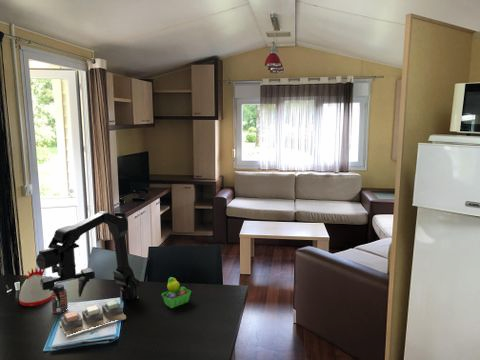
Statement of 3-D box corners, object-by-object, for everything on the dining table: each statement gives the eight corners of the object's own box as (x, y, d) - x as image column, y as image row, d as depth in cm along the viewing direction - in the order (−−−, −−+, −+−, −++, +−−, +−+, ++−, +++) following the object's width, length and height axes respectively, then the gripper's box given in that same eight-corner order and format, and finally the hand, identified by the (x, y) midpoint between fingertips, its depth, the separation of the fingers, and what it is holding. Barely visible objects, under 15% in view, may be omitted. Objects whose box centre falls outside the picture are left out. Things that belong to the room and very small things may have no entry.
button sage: (115, 305, 162) (115, 299, 161) (118, 309, 159) (118, 303, 158) (105, 308, 160) (105, 302, 159) (109, 312, 156) (108, 305, 156)
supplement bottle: (61, 314, 160) (59, 289, 159) (49, 313, 162) (47, 288, 160) (70, 308, 166) (69, 283, 165) (58, 306, 167) (56, 282, 166)
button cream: (96, 311, 157) (95, 305, 157) (99, 315, 154) (98, 308, 154) (86, 314, 155) (85, 307, 154) (89, 318, 152) (88, 311, 151)
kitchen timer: (55, 300, 174) (53, 269, 171) (21, 309, 166) (17, 276, 164) (50, 289, 185) (48, 260, 183) (18, 297, 177) (15, 266, 175)
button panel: (116, 307, 166) (115, 298, 166) (126, 318, 157) (125, 309, 156) (59, 324, 153) (58, 314, 152) (66, 337, 143) (65, 327, 143)
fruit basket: (170, 310, 164) (169, 285, 162) (159, 303, 170) (158, 279, 169) (192, 302, 171) (191, 278, 169) (181, 295, 178) (180, 272, 176)
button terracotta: (75, 317, 152) (75, 310, 152) (78, 321, 149) (77, 314, 149) (65, 320, 150) (64, 313, 150) (67, 324, 147) (67, 318, 146)
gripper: (86, 250, 158) (88, 286, 160) (35, 260, 147) (39, 298, 149) (94, 258, 149) (96, 295, 152) (41, 269, 138) (44, 309, 140)
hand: (69, 299), depth 148 cm, fingers open, 7 cm apart
